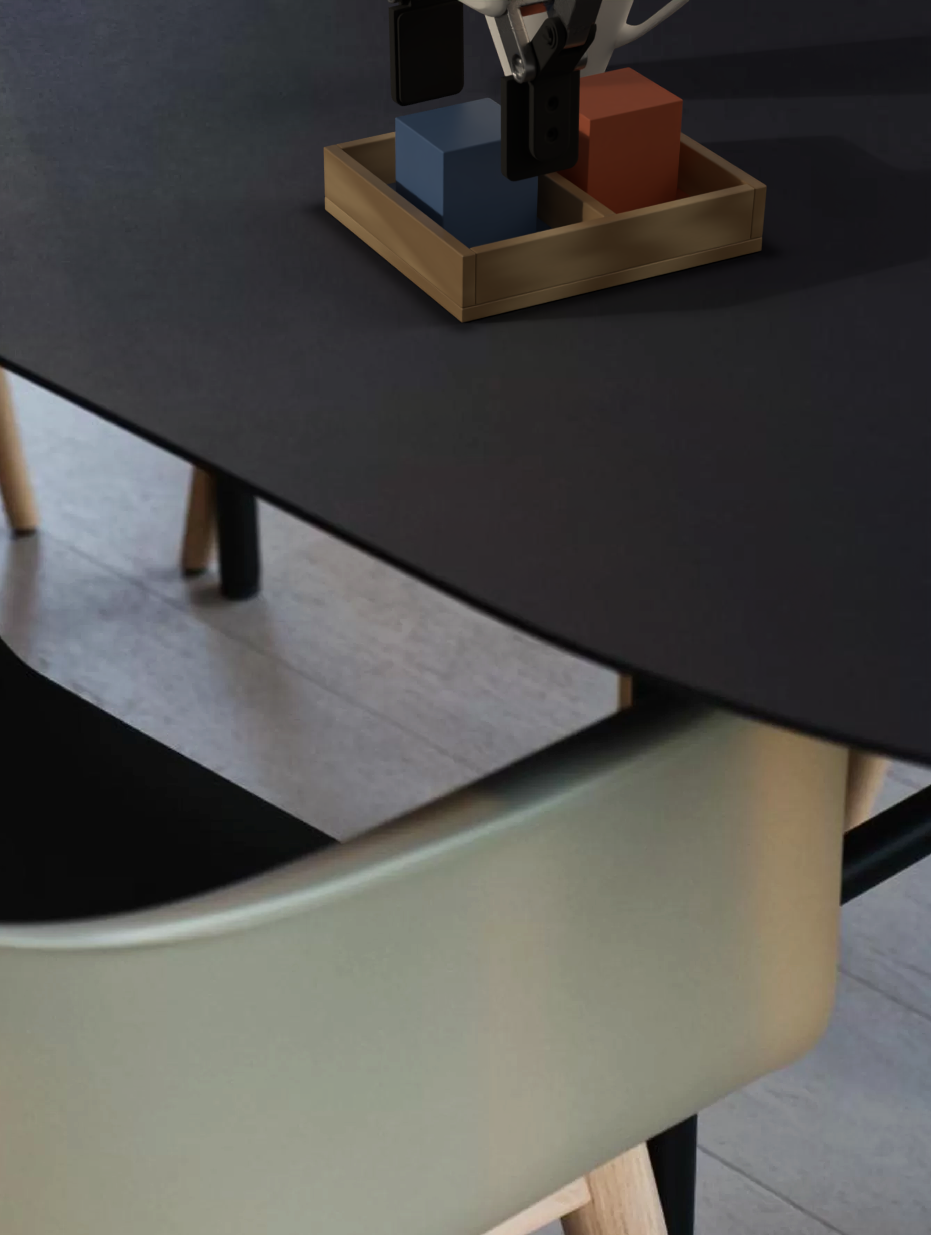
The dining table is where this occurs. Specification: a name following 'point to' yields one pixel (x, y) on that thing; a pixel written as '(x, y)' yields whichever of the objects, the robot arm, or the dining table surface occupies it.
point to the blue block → (463, 173)
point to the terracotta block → (627, 141)
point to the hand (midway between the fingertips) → (481, 134)
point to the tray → (546, 231)
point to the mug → (607, 36)
